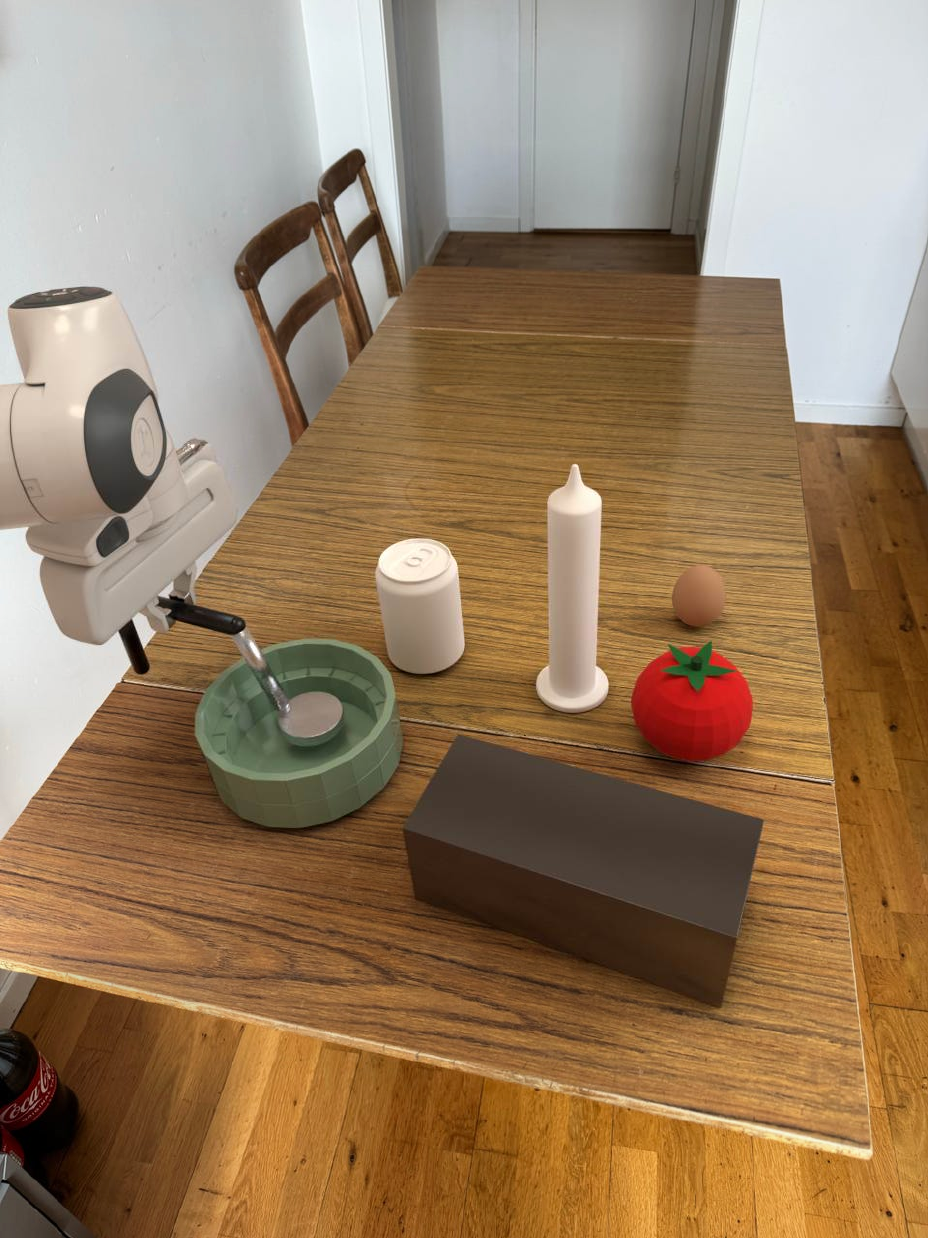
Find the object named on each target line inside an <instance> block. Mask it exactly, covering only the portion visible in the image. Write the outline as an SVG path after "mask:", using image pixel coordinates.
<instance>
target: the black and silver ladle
mask: <svg viewBox="0 0 928 1238" xmlns="http://www.w3.org/2000/svg"><path fill="white" fill-rule="evenodd" d="M157 598H158V601H159V603H158V604H157V605H156V606H159V607H162V608H163V609H164V608H167V609H171V610H172V612H173V616H174V617H173V618H174V619H175V621H176V622H180V623H183V624H187V625H190V626H194V627H198V628H202V629H206V630H210V631H213V632H217V633H221V634H224V635H228V636H230V637H231V639H232V640H233V642H234V644H235V646H236V647H237V649H238V651H239V653H240V654H241V656H242V658H244V659H245V661H246V662H247V664H248V666H249V667H250V669H251V671H252V672H253V674H254V676H255V677H256V679H257V681H258V683H259V684H260V686H261V688H262V689H263V691H264V693H265V694H266V696H267V698H268V699H269V701H270V703H271V704H272V706H273V708H274V709H275V710H276V711H278V712H279V715H278V724H279V727H280V731H281V734H282V736H283V737H284V738H285V739H286V740H287V741H288V742H290V743H292V744H295V745H298V746H315V745H319V744H322V743H325V742H327V741H329V740H330V739H332V738H333V737H335V736H336V735H337V734H338V733H339V732H340V730H341V729H342V727H343V725H344V721H345V716H344V711H343V706H342V704H341V702H340V701H339V699H338V698H337V697H335V696H334V695H332V694H329V693H326V692H320V691H314V692H307V693H303V694H300V695H298V696H295V697H294V698H292V699H290V700H289V698H288V697H287V695H286V693H285V692H284V690H283V688H282V686H281V685H280V683H279V681H278V680H277V678H276V676H275V674H274V673H273V671H272V669H271V668H270V666H269V664H268V662H267V661H266V659H265V657H264V655H263V654H262V652H261V648H260V647H259V645H258V644H257V642H256V639H255V638H254V636H253V635H252V633H251V631H250V630H249V627H248V626H247V624H246V621H245V619H244V618H243V617H241V616H240V615H235V614H231V613H228V612H224V611H220V610H216V609H212V608H208V607H206V606H205V607H204V606H200V605H197V604H195V605H193V604H189V603H185V602H181V601H177V600H173V599H170V598H169V597H165V596H161V595H159V594H158V595H157ZM154 606H155V605H154ZM117 633H118V634H119V637H120V640H121V642H122V645H123V647H124V650H125V653H126V655H127V658H128V660H129V662H130V664H131V668H132V670H133V672H134V673H135V674H137V675H139V676H143V675H146V674H148V672H149V671H150V668H151V666H150V662H149V659H148V656H147V654H146V651H145V649H144V646H143V643H142V640H141V639H140V635H139V634H138V631H137V627H136V625H135V622H134V620H133V618H132V619H131V620H130V621H129V622H128V623H126V624H125V625H124V626H123V627H122V628H121V629H120V630H119V631H118V632H117Z"/></svg>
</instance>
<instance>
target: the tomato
mask: <svg viewBox="0 0 928 1238" xmlns="http://www.w3.org/2000/svg"><path fill="white" fill-rule="evenodd" d="M667 646H668V648H669V650H668V651H666V652H664V653H663V654H661V655H660V656H657V657H656V658H655V659H653V660H651V661H649V663H648V664H647V665H646V666H645V668H644V669H643V670H642V672H641V673H640V674H639V675H638V677H637V679H636V681H635V683H634V687H633V690H632V694H631V699H630V701H631V702H630V704H631V711H632V716H633V721H634V723H635V726H636V727H637V729H638V730H639V732H640V734H641V735H642V737H643V738H644V739H645V741H646V742H647V743H648V744H650V745H651V746H652V747H653V748H654V749H656V750H657V751H658V752H660V753H662V754H664V755H665V756H668V757H671V758H672V759H675V760H680V761H681V760H682V761H686V762H705V761H708V760H712V759H715V758H718V757H721V756H724V755H725V754H726V753H728V752H730V751H731V750H733V749H734V748H735V747H736V746H738V745H739V744H740V742H741V741H742V739H743V738H744V736H745V735H746V733H747V732H748V731H749V728H750V726H751V723H752V718H753V710H754V699H753V696H752V693H751V689H750V686H749V683H748V682H747V678H745V676H744V675H743V674H742V673H741V671H740V670H739V669H738V668H737V667H736V666H735V664H734V663H732V662H731V661H730V660H728V659H727V658H726V657H724V656H723V655H721V654H720V653H719V652H716V651H713V641H712V640H709V641H708V642H707V643H706V644H705V645H703V646H702V647H697V646H680V647H675V646H674V645H672V644H670V643H668V644H667Z"/></svg>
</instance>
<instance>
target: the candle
mask: <svg viewBox="0 0 928 1238" xmlns="http://www.w3.org/2000/svg"><path fill="white" fill-rule="evenodd" d="M579 468H580V467H579V465H578V464H576V463H574V464H572V465H571V467H570V472H569V475H568V478H567V481H566V483H565V485H564V486H562V487H559V488H556V489H555V490H553V491H552V492H551V493H550V494H549V496H548V498H547V505H546V506H547V507H546V508H547V509H546V510H547V588H548V589H547V591H548V592H547V595H548V596H547V597H548V599H547V602H548V603H547V604H548V605H547V606H548V612H547V613H548V665H546V666H545V667H543V668H542V669H541V670H540V672H539V673H538V675H537V676H536V681H535V689H536V692H537V696H538V697H539V699H540V701H541V702H542V703H543V704H545V705H546V706H548V707H549V708H551V709H553V710H555V711H559V712H562V713H570V714H576V713H584V712H588V711H590V710H593V709H595V708H597V707H599V706H600V705H601V704H602V703H603V702H604V701H605V699H606V698H607V696H608V693H609V685H610V684H609V679H608V676H607V675H606V673H605V672H604V671H603V670H602V669H601V668H600V667H599V666H597V652H598V651H597V649H598V647H597V646H598V620H599V617H598V616H599V593H600V589H599V588H600V566H601V565H600V563H601V537H602V535H601V533H602V506H603V505H602V503H603V501H602V496H601V495H600V494H599V493H598V492H597V491H596V490H595V489H592V488H591V487H588V486H587V485H585V484H584V482H583V480H582V476H581V472H580V469H579Z"/></svg>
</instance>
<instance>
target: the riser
mask: <svg viewBox="0 0 928 1238" xmlns="http://www.w3.org/2000/svg"><path fill="white" fill-rule="evenodd" d="M764 822H765V819H764V818H760V817H757V816H753V815H749V814H746V813H742V812H738V811H736V810H733V809H732V810H731V809H728V808H724V807H721V806H717V805H713V804H710V803H707V802H703V801H699V800H696V799H692V798H689V797H685V796H682V795H678V794H674V793H670V792H667V791H663V790H660V789H657V788H652V787H649V786H646V785H642V784H638V783H635V782H631V781H627V780H625V779H620V778H617V777H615V776H610V775H607V774H603V773H599V772H595V771H592V770H589V769H584V768H581V767H578V766H574V765H570V764H567V763H564V762H560V761H556V760H553V759H550V758H546V757H542V756H538V755H535V754H532V753H528V752H525V751H521V750H517V749H513V748H510V747H506V746H503V745H499V744H496V743H491V742H490V741H485V740H481V739H478V738H474V737H470V736H468V735H463V734H459V733H458V734H457V735H456V736H455V738H454V740H453V742H452V743H451V745H450V747H449V748H448V750H447V752H446V754H445V755H444V757H443V759H442V760H441V762H440V764H439V765H438V767H437V769H436V770H435V772H434V774H433V775H432V777H431V779H430V781H429V782H428V783H427V785H426V787H425V789H424V790H423V792H422V794H421V795H420V797H419V799H418V801H417V802H416V804H415V805H414V807H413V809H412V811H411V812H410V814H409V816H408V817H407V819H406V821H405V823H404V824H403V826H402V827H401V830H402V835H403V840H404V846H405V851H406V856H407V862H408V869H409V873H410V878H411V884H412V890H413V895H414V899H416V900H419V901H421V902H423V903H427V904H429V905H432V906H435V907H437V908H440V909H444V910H446V911H449V912H451V913H454V914H457V915H460V916H462V917H466V918H469V919H471V920H474V921H477V922H479V923H483V924H485V925H487V926H491V927H493V928H496V929H499V930H501V931H505V932H507V933H510V934H513V935H516V936H518V937H522V938H524V939H527V940H530V941H533V942H535V943H538V944H540V945H544V946H546V947H548V948H552V949H555V950H558V951H560V952H563V953H566V954H568V955H572V956H574V957H576V958H580V959H583V960H584V961H585V960H586V961H588V962H590V963H594V964H596V965H600V966H601V967H605V968H608V969H610V970H613V971H616V972H619V973H622V974H624V975H626V976H629V977H633V978H635V979H639V980H641V981H644V982H647V983H650V984H652V985H655V986H658V987H661V988H664V989H667V990H669V991H672V992H675V993H677V994H680V995H683V996H686V997H689V998H691V999H694V1000H697V1001H700V1002H703V1003H705V1004H708V1005H711V1006H714V1007H717V1008H720V1009H722V1006H723V1002H724V998H725V994H726V989H727V985H728V980H729V976H730V971H731V967H732V963H733V960H734V954H735V950H736V947H737V941H738V938H739V937H738V936H739V934H740V933H739V932H740V928H741V924H742V920H743V916H744V910H745V906H746V901H747V897H748V893H749V889H750V885H751V880H752V876H753V872H754V867H755V863H756V858H757V854H758V850H759V845H760V841H761V836H762V832H763V828H764Z"/></svg>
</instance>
